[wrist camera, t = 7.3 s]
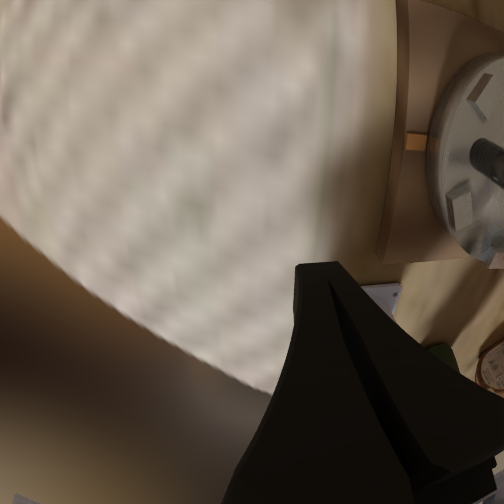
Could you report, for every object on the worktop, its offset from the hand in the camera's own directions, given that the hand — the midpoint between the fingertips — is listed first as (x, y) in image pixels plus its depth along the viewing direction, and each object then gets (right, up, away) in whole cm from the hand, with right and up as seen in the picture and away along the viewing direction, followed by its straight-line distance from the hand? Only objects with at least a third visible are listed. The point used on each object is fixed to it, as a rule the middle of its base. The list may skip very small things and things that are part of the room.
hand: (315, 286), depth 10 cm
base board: (+16, +9, +7) cm, 19 cm away
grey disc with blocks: (+16, +8, +6) cm, 19 cm away
